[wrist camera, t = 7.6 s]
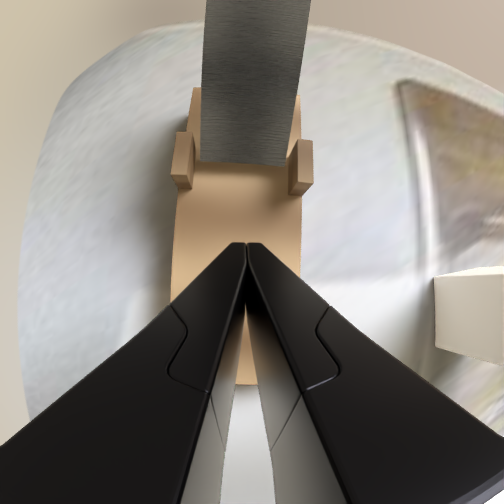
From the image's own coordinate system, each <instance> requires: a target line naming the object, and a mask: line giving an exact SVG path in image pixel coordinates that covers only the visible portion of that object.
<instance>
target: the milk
mask: <svg viewBox="0 0 504 504" xmlns="http://www.w3.org/2000/svg"><path fill="white" fill-rule="evenodd" d="M434 292H435V347H437V348H440V349H444V350H447V351H451V352H454V353H458V354H461V355H465V356H468V357H472V358H475V359H479V360H482V361H486V362H490V363H493V364H497V365H501V366H504V266H494V267H481V268H473V269H469V270H464V271H459V272H454V273H450V274H445V275H440V276H435V277H434Z"/></svg>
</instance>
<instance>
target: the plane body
mask: <svg viewBox="0 0 504 504" xmlns="http://www.w3.org/2000/svg"><path fill="white" fill-rule="evenodd" d="M200 116H201V88H193V93H192V98H191V104H190V110H189V116H188V122H187V128H186V132H177V134H176V140H175V146H174V153H173V160H172V167H171V176H172V178H173V180H174V182H175V184H176V185H177V187H178V197H177V207H176V217H175V229H174V242H173V256H172V274H171V296H170V303H171V302H172V301H173V300H174V299H175V298H176V297H177V296H178V295H179V294H180V293H181V292H182V291H183V290H184V289H185V288H186V287H187V286H188V285H189V284H190V283H191V282H192V281H193V280H194V279H195V278H196V277H197V276H198V275H199V274H200V273H201V272H202V271H203V270H204V269H205V268H206V267H207V266H208V265H209V264H210V263H211V262H212V261H213V260H214V259H215V258H216V257H217V256H218V255H219V254H220V253H221V252H222V251H223V250H224V249H225V248H226V247H227V246H228V245H229V244H230V243H232V242H244V243H246V244H247V243H248V242H260V243H262V244H263V245H264V246H265V247H266V248H268V249H269V250H270V251H271V252H272V253H273V254H274V255H275V256H276V257H278V258H279V259H280V260H281V261H282V262H283V263H284V264H285V265H286V266H288V267H289V268H290V269H291V270H292V271H293V272H294V273H295V274H296V275H297V276H299V277H300V262H301V221H302V195H303V194H304V193H305V192H306V191H307V190H308V189H309V188H310V187H311V185H312V184H313V183H314V181H313V141H311V140H303V139H301V110H300V95H297V96H296V102H295V108H294V114H293V120H292V126H291V132H290V138H289V144H288V150H287V156H286V162H285V167H282V166H271V165H259V164H245V163H228V162H205V161H200ZM235 384H246V385H258V383H257V377H256V371H255V366H254V360H253V354H252V348H251V342H250V336H249V330H248V324H247V317H246V309H245V321H244V328H243V335H242V342H241V349H240V356H239V363H238V369H237V376H236V383H235Z"/></svg>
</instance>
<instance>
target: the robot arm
mask: <svg viewBox="0 0 504 504" xmlns="http://www.w3.org/2000/svg"><path fill="white" fill-rule="evenodd" d="M245 309H246V317H247V324H248V330H249V336H250V342H251V348H252V354H253V360H254V366H255V371H256V377H257V383H258V389H259V394H260V400H261V406H262V411H263V417H264V423H265V428H266V434H267V439H268V444H269V450H270V455H271V461H272V468H273V478H274V490H275V501H276V504H504V437H502V436H500V435H499V434H497V433H496V432H494V431H493V430H492V429H490V428H489V427H488V426H486V425H485V424H484V423H482V422H481V421H480V420H478V419H477V418H476V417H474V416H473V415H472V414H470V413H469V412H468V411H466V410H465V409H464V408H462V407H461V406H460V405H458V404H457V403H455V402H454V401H453V400H451V399H450V398H449V397H447V396H446V395H445V394H443V393H442V392H441V391H439V390H438V389H437V388H435V387H434V386H433V385H431V384H430V383H429V382H427V381H426V380H425V379H423V378H422V377H421V376H419V375H418V374H417V373H415V372H414V371H413V370H411V369H410V368H409V367H407V366H406V365H404V364H403V363H402V362H400V361H399V360H398V359H396V358H395V357H394V356H392V355H391V354H390V353H388V352H387V351H386V350H384V349H383V348H382V347H380V346H379V345H378V344H376V343H375V342H374V341H372V340H371V339H370V338H369V337H367V336H366V335H365V334H363V333H362V332H361V331H360V330H358V329H357V328H356V327H355V326H354V325H352V324H351V323H350V322H349V321H348V320H347V319H345V318H344V317H343V316H342V315H341V314H340V313H339V312H338V311H337V310H335V309H334V308H333V307H332V306H330V305H329V304H328V303H327V302H326V301H325V300H324V299H323V298H322V297H320V296H319V295H318V294H317V293H316V292H315V291H314V290H313V289H312V288H311V287H310V286H308V285H307V284H306V283H305V282H304V281H303V280H302V279H301V278H300V277H299V276H297V275H296V274H295V273H294V272H293V271H292V270H291V269H290V268H289V267H288V266H286V265H285V264H284V263H283V262H282V261H281V260H280V259H279V258H278V257H276V256H275V255H274V254H273V253H272V252H271V251H270V250H269V249H268V248H266V247H265V246H264V245H263V244H262V243H260V242H248V243H247V244H246V243H244V242H232V243H230V244H229V245H228V246H227V247H226V248H225V249H224V250H223V251H222V252H221V253H220V254H219V255H218V256H217V257H216V258H215V259H214V260H213V261H212V262H211V263H210V264H209V265H208V266H207V267H206V268H205V269H204V270H203V271H202V272H201V273H200V274H199V275H198V276H197V277H196V278H195V279H194V280H193V281H192V282H191V283H190V284H189V285H188V286H187V287H186V288H185V289H184V290H183V291H182V292H181V293H180V294H179V295H178V296H177V297H176V298H175V299H174V300H173V301H172V302H171V303H170V304H169V305H167V306H166V307H165V308H164V309H163V310H162V311H161V312H160V313H159V314H158V315H157V316H156V317H155V318H154V319H153V320H152V321H151V322H150V323H149V324H148V325H147V326H146V327H145V328H144V329H142V330H141V331H140V332H139V333H138V334H137V335H135V336H134V337H133V338H132V339H131V340H130V341H128V342H127V343H126V344H125V345H124V346H122V347H121V348H120V349H119V350H117V351H116V352H115V353H114V354H112V355H111V356H110V357H109V358H108V359H106V360H105V361H104V362H103V363H101V364H100V365H99V366H98V367H96V368H95V369H94V370H93V371H92V372H90V373H89V374H88V375H87V376H85V377H84V378H83V379H82V380H80V381H79V382H78V383H77V384H76V385H74V386H73V387H72V388H71V389H69V390H68V391H67V392H66V393H65V394H63V395H62V396H61V397H60V398H59V399H57V400H56V401H55V402H54V403H52V404H51V405H50V406H49V407H48V408H46V409H45V410H44V411H43V412H42V413H40V414H39V415H38V416H37V417H35V418H34V419H33V420H32V421H31V422H29V423H28V424H27V425H26V426H25V427H23V428H22V429H21V430H20V431H19V432H17V433H16V434H15V435H14V436H13V437H11V438H10V439H9V440H8V441H7V442H5V443H4V444H3V445H1V446H0V504H220V496H221V485H222V474H223V465H224V458H225V451H226V444H227V437H228V431H229V424H230V417H231V410H232V403H233V397H234V390H235V383H236V376H237V369H238V363H239V356H240V349H241V342H242V335H243V328H244V321H245Z"/></svg>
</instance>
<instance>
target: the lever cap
mask: <svg viewBox="0 0 504 504" xmlns="http://www.w3.org/2000/svg"><path fill="white" fill-rule="evenodd" d="M310 3H311V0H207V2H206V14H205V27H204V42H203V60H202V82H201V116H200V161H205V162H228V163H245V164H259V165H271V166H282V167H285V162H286V156H287V150H288V144H289V138H290V132H291V126H292V120H293V114H294V108H295V102H296V96H297V89H298V83H299V77H300V70H301V64H302V58H303V51H304V44H305V38H306V31H307V24H308V17H309V10H310Z"/></svg>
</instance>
